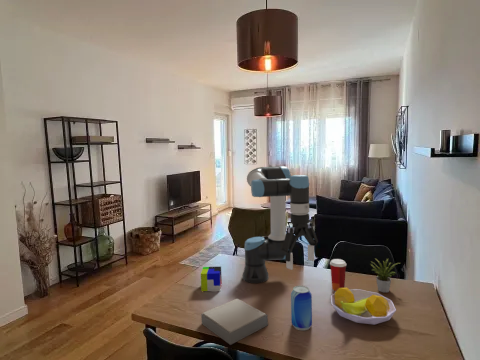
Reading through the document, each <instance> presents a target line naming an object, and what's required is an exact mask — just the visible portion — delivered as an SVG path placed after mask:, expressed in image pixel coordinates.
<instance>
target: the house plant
mask: <svg viewBox="0 0 480 360" xmlns="http://www.w3.org/2000/svg"><path fill="white" fill-rule="evenodd" d="M374 259H375V261H376V262H377V263H378V265H379V266H378V265H377V264H376V263H375V262H373V261H371V263H369V265H370V266H371V267H372V271H374V273H376V274H377V276H376V277H375V279H376V286H377V290H378V291H379V292H381V293H389V292H390V288H391V283H392V278H391V277H392V276H395V274H396V271H391V270H393V269H394V268H395V266H396V265H398V264H401V262H397V263H396V262H395V263H394V264H392V262H389V258H386V260H385V261H384V260H382V262H383V265H382V263H381V261H380V260H378V259H377V258H374ZM373 264H374V265H375V266H374V265H373ZM391 264H392V265H391Z"/></svg>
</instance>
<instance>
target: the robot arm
mask: <svg viewBox="0 0 480 360" xmlns="http://www.w3.org/2000/svg"><path fill="white" fill-rule="evenodd" d="M246 182H247V184H248V185H249V187H250V193H251V196H252V197H253V198H263V197H264V198H266V197H269V198H270V200H269V201H270V234H269V235H268V237H267V239H265V237H264V236H253V237H250V238H247V239H246V240H245V241H244V248H243V250H244V269H243V272H242V274H241V275H242V280H243V281H244V282H246V283H251V284H259V283H264V282H266V281H268V280H269V272H268V270H267V269H268V268H267V266H266V261H278V260H279V261H283V260H285V262H286V263H285V264H286V265H285V266H286V269H287V270H288V269H289V270H290V271H291V270H293V269H294V262H293V261H294V258H293V257H294V256H293V252H292V251H293V249H294V247H295V246H296V243H297V241H298V240H299V238H301V237H304V238H305V240H306V241H307V243H308V244H307V260H308V261H310V262H314V261H315V246H317V244H318V242H319V240H318V238H317V235H316V232H315V229H314V223H313V222H310V178H309V176H308V175H307V174H294V175H291V172H290V169H289V167H287V166H285V165H284V166H282V165H278V166H277V165H276V166H260V167H256V168H254V169H251V170H250V171H249V172H248V173H247V176H246ZM286 197H289V198H290V203H289V205H290V208H289V209H290V210H289V211H290V223H291V224H292V226H291V227H288V226H287V227H286V225H287V223H286V220H287V219H286V218H287V216H286V214H287V211H286V209H287V207H286V206H287V205H286V202H287V201H286V200H287V198H286Z"/></svg>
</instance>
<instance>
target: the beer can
mask: <svg viewBox="0 0 480 360" xmlns="http://www.w3.org/2000/svg"><path fill="white" fill-rule="evenodd" d="M292 288H293V290H292V291H291V292H290V313H291V317H290V318H291V319H290V320H291V322H290V323H291V325H292V326H293V328H294V329H295V330H298V331H308V330H309V329H311V327H312V326H313V307H312V306H313V302H312V301H313V300H312V299H313V297H312V296H313V295H312V293H311V291H310V288H309V287H307V286H305V285H296V286H294V287H292Z"/></svg>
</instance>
